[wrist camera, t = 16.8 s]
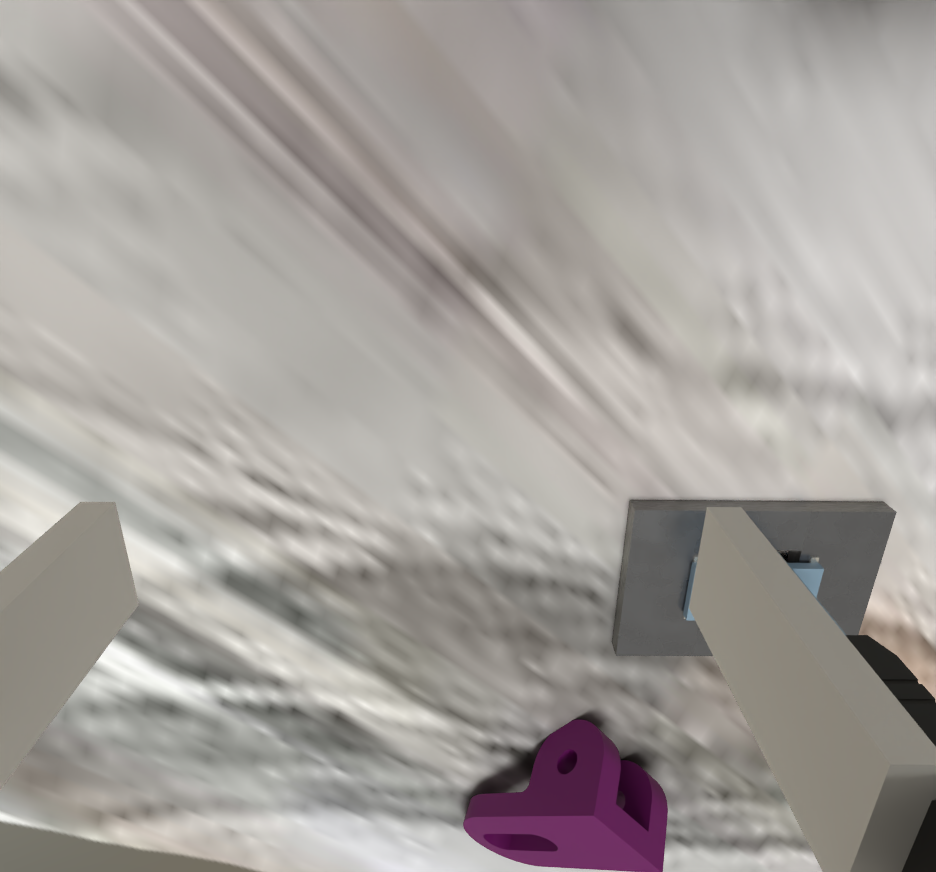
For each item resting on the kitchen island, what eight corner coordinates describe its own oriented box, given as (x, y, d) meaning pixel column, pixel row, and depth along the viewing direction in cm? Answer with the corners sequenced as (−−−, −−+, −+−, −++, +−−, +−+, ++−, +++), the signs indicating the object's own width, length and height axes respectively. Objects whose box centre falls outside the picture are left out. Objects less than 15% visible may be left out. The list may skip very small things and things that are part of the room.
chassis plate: (611, 642, 55) (616, 657, 54) (629, 500, 50) (635, 511, 48) (840, 643, 55) (852, 658, 54) (883, 501, 50) (898, 513, 48)
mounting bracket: (527, 779, 70) (671, 771, 59) (507, 864, 64) (662, 873, 53) (471, 733, 67) (610, 715, 56) (443, 816, 61) (594, 815, 50)
